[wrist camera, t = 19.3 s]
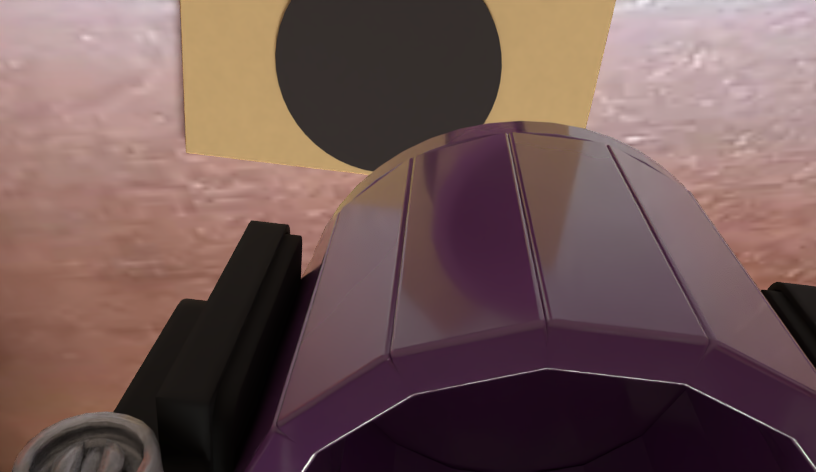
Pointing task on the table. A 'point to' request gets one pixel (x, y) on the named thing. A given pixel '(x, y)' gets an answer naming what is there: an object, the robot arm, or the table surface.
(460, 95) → the placemat
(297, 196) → the table surface
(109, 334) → the table surface
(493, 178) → the plum dish
